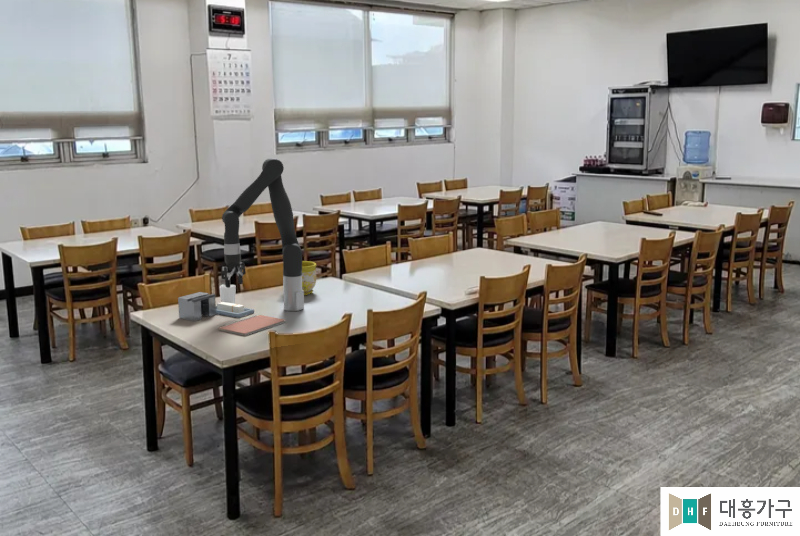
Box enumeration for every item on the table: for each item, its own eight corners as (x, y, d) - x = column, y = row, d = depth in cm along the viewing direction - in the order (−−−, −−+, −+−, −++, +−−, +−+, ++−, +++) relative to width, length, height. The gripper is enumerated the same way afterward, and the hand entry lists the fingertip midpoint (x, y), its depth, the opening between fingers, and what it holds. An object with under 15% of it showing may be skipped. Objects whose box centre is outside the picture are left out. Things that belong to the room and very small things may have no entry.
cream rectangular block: (244, 312, 355) (244, 305, 354) (238, 314, 351) (238, 306, 350) (223, 308, 361) (222, 301, 361) (217, 310, 358) (216, 303, 357)
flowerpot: (323, 294, 397) (322, 264, 394) (294, 298, 386) (294, 268, 383) (305, 288, 411) (304, 259, 408) (277, 292, 399) (276, 263, 396)
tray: (254, 312, 356) (253, 309, 356) (238, 317, 347) (238, 314, 346) (223, 307, 366) (223, 303, 366) (207, 312, 357) (207, 308, 356)
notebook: (258, 318, 349) (258, 313, 349) (285, 323, 341) (285, 319, 340) (217, 331, 326) (216, 327, 326) (245, 337, 318) (245, 332, 317)
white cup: (228, 308, 365) (227, 288, 363) (216, 305, 369) (216, 286, 367) (239, 304, 372) (238, 285, 370) (228, 302, 376) (227, 283, 374)
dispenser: (215, 314, 352) (215, 294, 350) (194, 321, 340) (193, 299, 338) (200, 311, 357) (199, 291, 355) (179, 318, 345) (178, 297, 343)
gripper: (228, 255, 341) (229, 289, 344) (248, 250, 353) (250, 283, 357) (216, 254, 345) (218, 287, 348) (236, 249, 357) (238, 282, 360)
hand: (234, 285), depth 352 cm, fingers open, 8 cm apart
